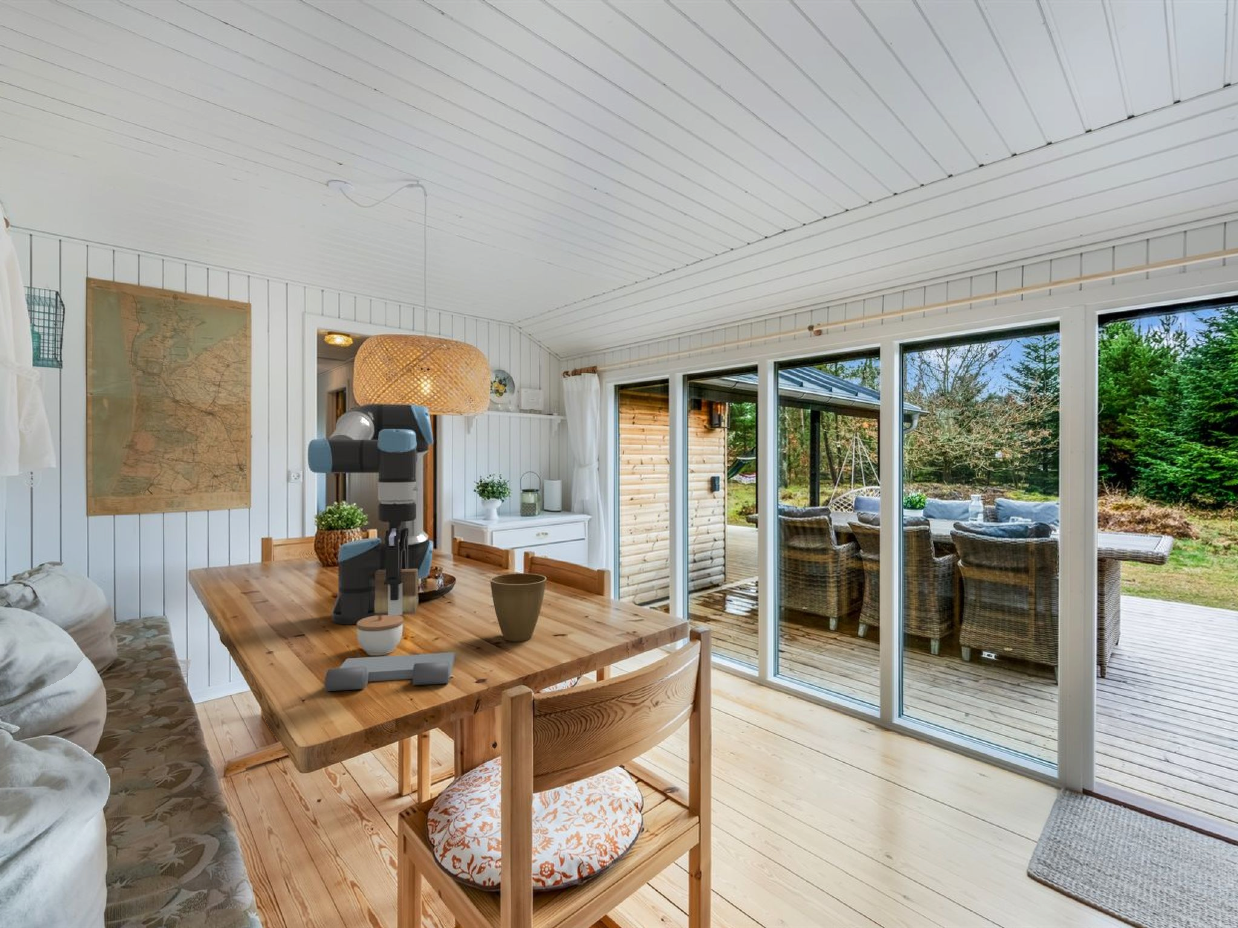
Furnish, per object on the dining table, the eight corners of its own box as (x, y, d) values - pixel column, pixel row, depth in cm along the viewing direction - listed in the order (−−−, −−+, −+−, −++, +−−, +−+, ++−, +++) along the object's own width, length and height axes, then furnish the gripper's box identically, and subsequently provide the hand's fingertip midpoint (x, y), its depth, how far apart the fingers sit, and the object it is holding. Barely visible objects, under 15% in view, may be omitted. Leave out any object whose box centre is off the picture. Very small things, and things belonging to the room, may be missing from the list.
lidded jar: (412, 648, 141) (412, 611, 141) (375, 661, 132) (375, 622, 132) (385, 641, 147) (385, 605, 147) (347, 653, 137) (347, 615, 137)
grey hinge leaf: (447, 686, 118) (447, 665, 118) (324, 694, 114) (324, 673, 114) (454, 660, 133) (454, 642, 133) (347, 667, 129) (346, 648, 128)
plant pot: (535, 648, 142) (535, 585, 141) (480, 644, 145) (480, 582, 144) (553, 630, 156) (553, 573, 156) (503, 627, 159) (503, 571, 159)
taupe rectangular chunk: (379, 610, 120) (379, 569, 120) (418, 609, 122) (418, 568, 121) (374, 616, 116) (374, 573, 116) (414, 614, 117) (415, 572, 117)
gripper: (409, 505, 111) (409, 622, 111) (422, 498, 128) (422, 600, 128) (368, 505, 109) (368, 624, 109) (387, 499, 126) (387, 601, 126)
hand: (397, 611), depth 119 cm, fingers closed on taupe rectangular chunk, 4 cm apart
